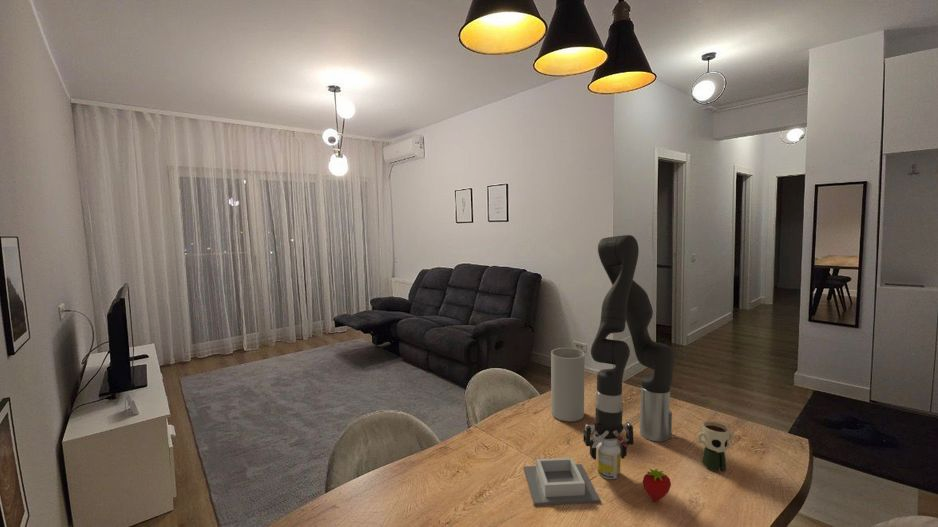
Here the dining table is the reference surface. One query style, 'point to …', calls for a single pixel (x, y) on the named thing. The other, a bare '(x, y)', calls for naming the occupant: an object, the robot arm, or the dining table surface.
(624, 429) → the robot arm
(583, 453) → the dining table surface
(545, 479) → the bottle holder
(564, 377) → the cylinder vase
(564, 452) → the dining table surface
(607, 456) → the pill bottle
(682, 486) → the dining table surface
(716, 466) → the character mug
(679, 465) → the dining table surface
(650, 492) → the strawberry
